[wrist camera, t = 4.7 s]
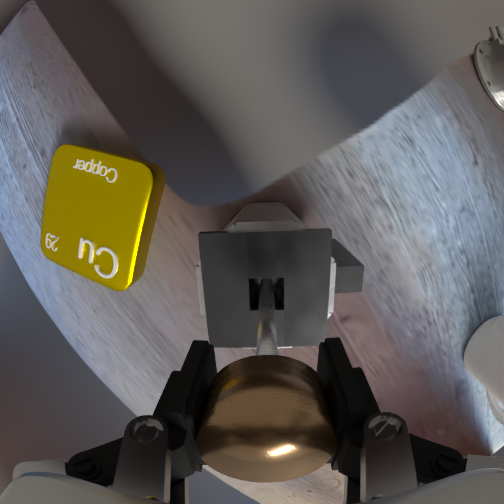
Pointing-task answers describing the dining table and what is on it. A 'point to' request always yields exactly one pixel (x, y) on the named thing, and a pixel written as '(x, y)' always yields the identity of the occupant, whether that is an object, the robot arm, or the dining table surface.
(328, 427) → the plunger
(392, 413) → the robot arm
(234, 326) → the grey faceted container
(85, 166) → the element tile
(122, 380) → the dining table surface
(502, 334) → the coffeepot
